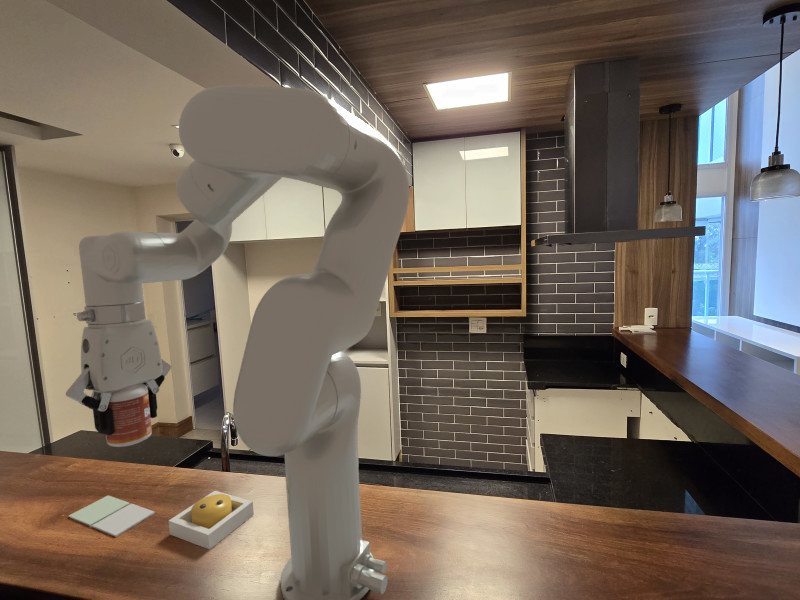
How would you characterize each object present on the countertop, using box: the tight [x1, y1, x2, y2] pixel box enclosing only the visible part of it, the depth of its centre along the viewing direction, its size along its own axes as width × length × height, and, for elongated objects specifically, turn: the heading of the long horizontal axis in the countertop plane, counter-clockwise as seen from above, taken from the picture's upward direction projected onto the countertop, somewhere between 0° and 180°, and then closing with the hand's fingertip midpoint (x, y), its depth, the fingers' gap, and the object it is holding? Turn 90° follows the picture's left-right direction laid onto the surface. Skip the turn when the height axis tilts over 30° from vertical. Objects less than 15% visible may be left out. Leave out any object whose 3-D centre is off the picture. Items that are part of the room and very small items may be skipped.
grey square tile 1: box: [91, 503, 156, 538], centre depth 70 cm, size 6×6×1 cm
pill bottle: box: [105, 383, 153, 448], centre depth 65 cm, size 6×6×11 cm
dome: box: [191, 494, 232, 529], centre depth 67 cm, size 6×6×3 cm
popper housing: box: [168, 490, 255, 550], centre depth 67 cm, size 9×9×2 cm
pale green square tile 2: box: [68, 495, 131, 527], centre depth 72 cm, size 6×6×1 cm
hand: (128, 423), depth 66 cm, fingers closed on pill bottle, 6 cm apart
